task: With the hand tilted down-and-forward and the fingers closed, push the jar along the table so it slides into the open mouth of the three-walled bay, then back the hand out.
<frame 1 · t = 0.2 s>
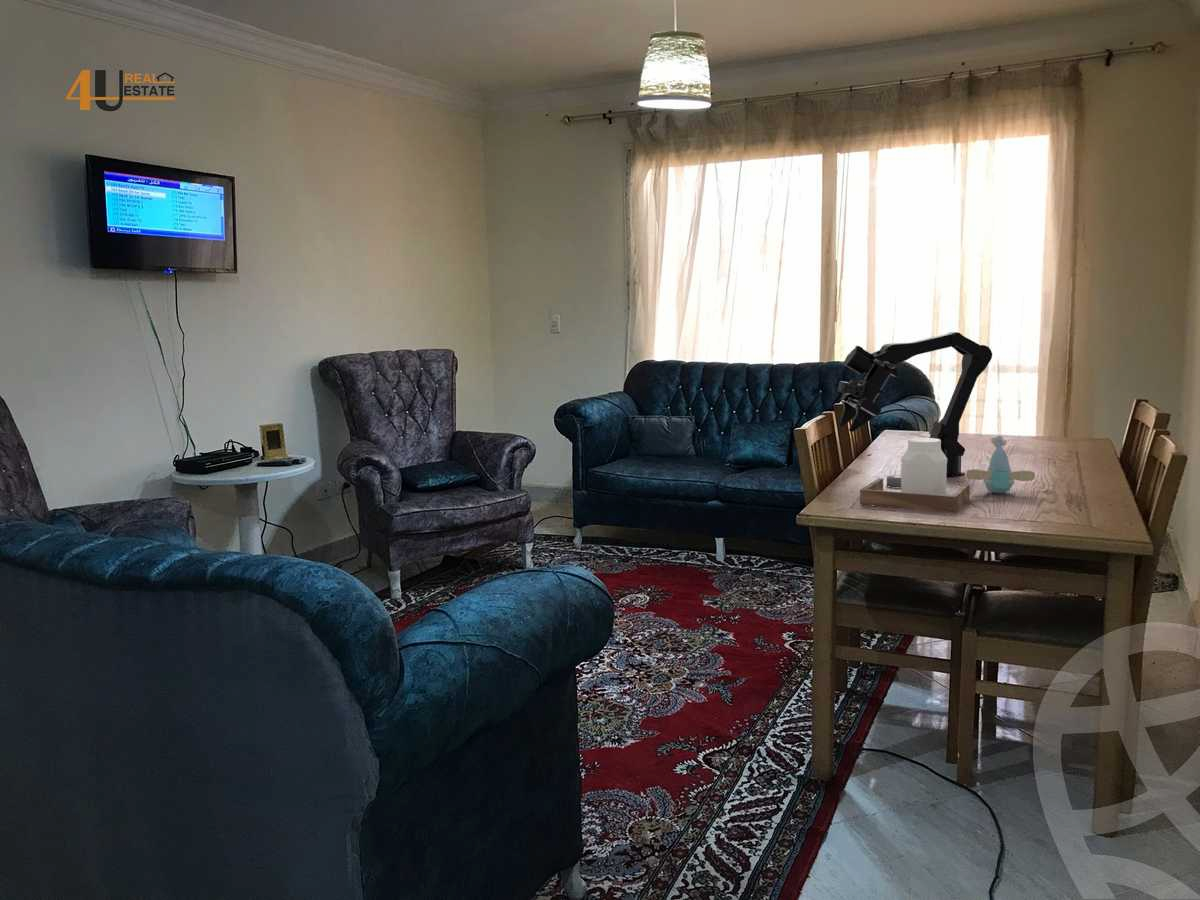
hand: (845, 429, 277), 15 cm above the table, tool tilted 30°, fingers open, 9 cm apart
chassis bay: (915, 501, 244), on the table
wheel: (897, 486, 266), on the table
jar: (923, 496, 252), on the table
blue winged piece: (998, 493, 252), on the table
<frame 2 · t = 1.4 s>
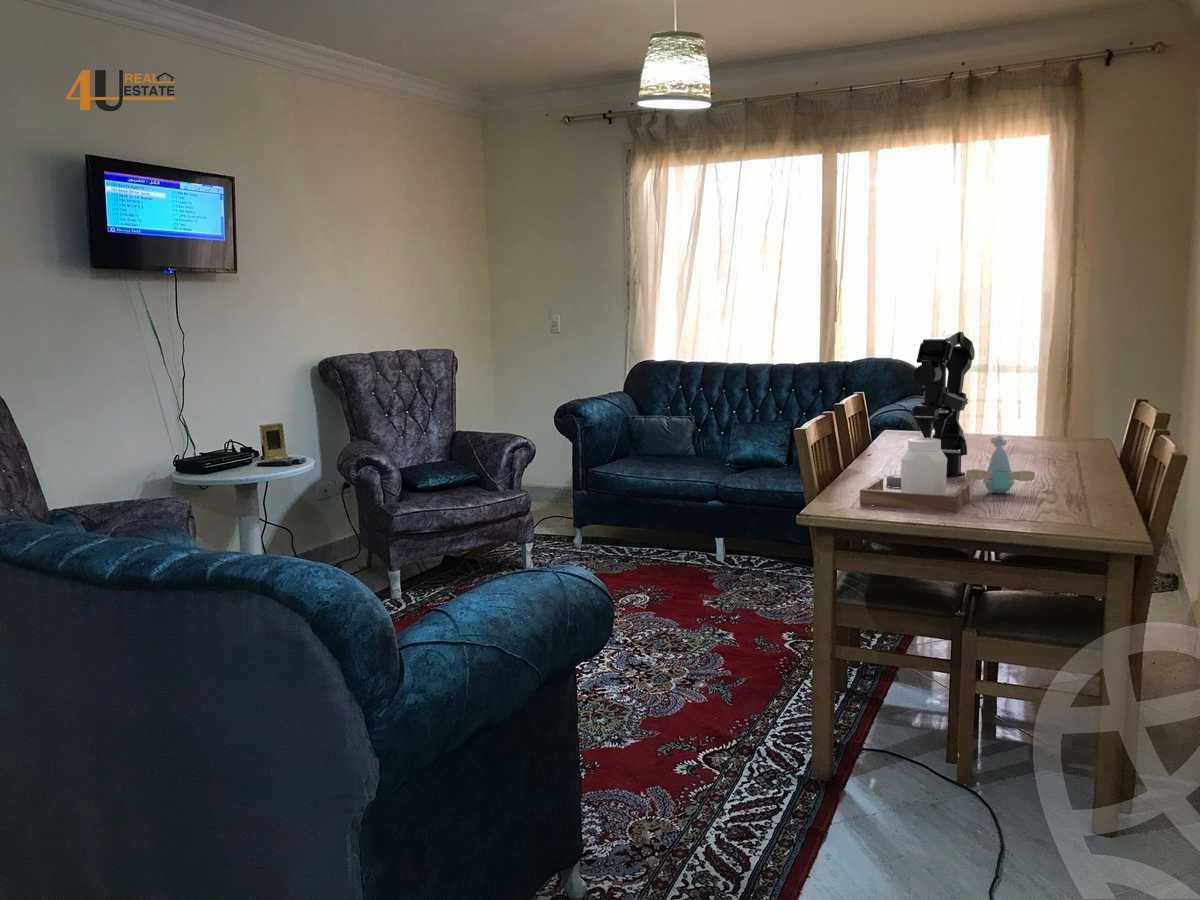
hand: (933, 439, 263), 13 cm above the table, tool pointing down, fingers open, 9 cm apart
nothing on the table moved.
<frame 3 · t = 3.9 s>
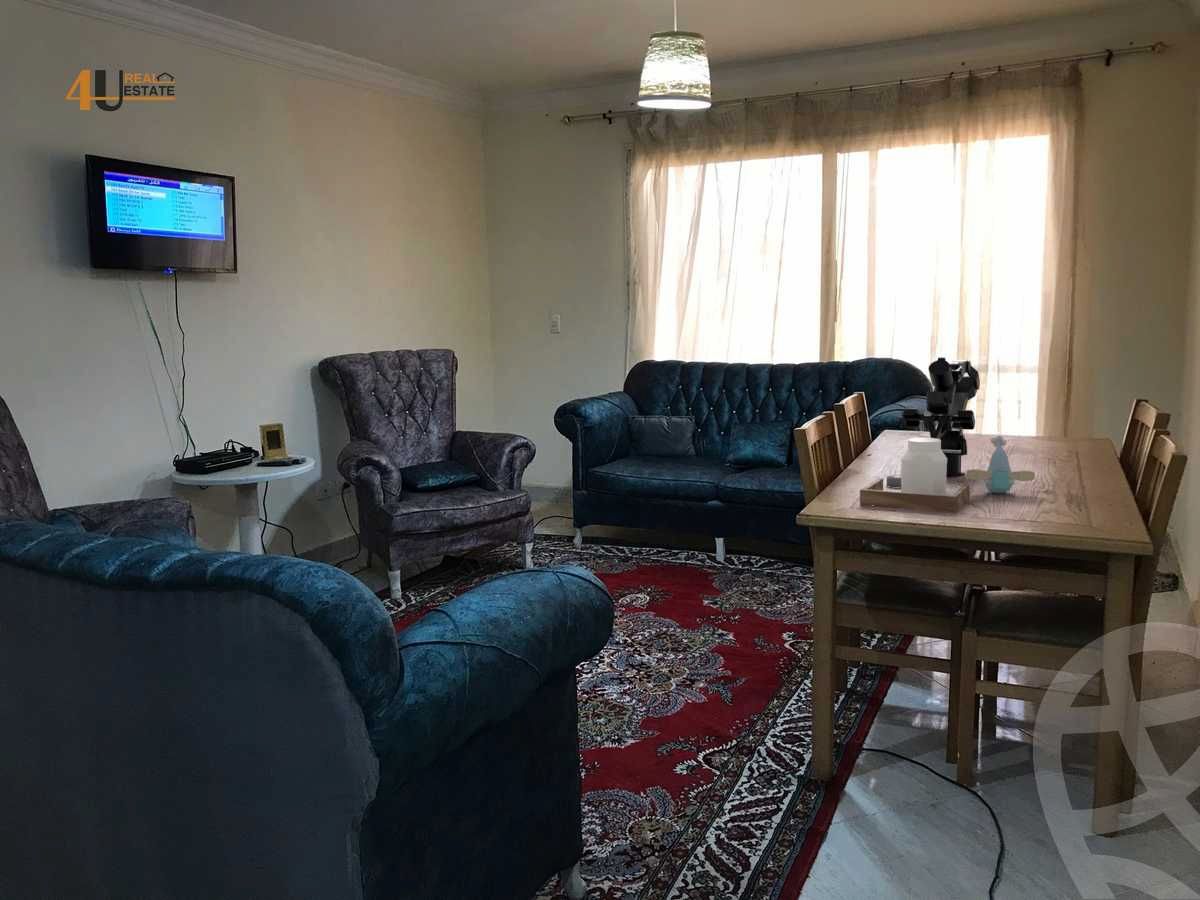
hand: (933, 442, 259), 13 cm above the table, tool tilted 45°, fingers closed
nothing on the table moved.
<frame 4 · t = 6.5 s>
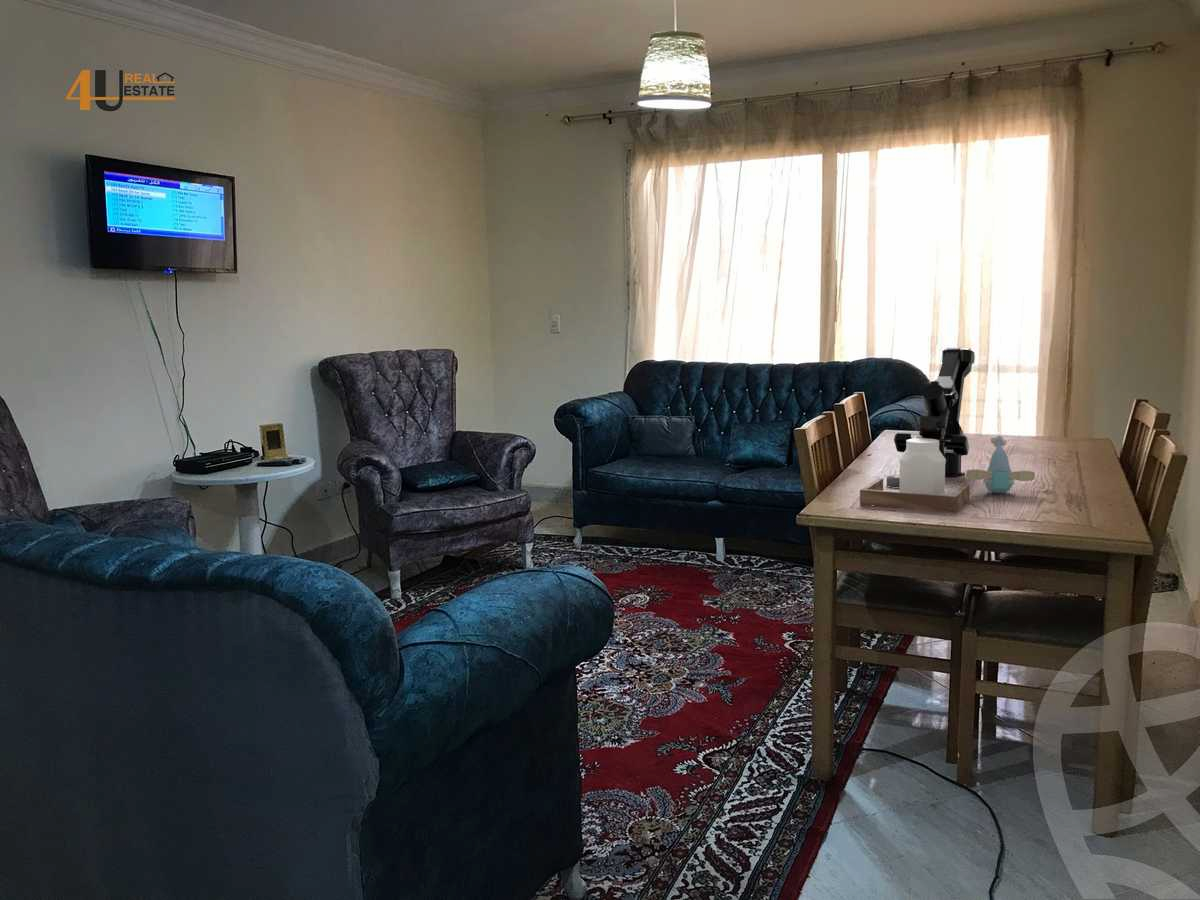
hand: (925, 468, 253), 7 cm above the table, tool tilted 45°, fingers closed, pressing on jar
jar: (921, 497, 251), on the table, touching gripper
everything else where it was.
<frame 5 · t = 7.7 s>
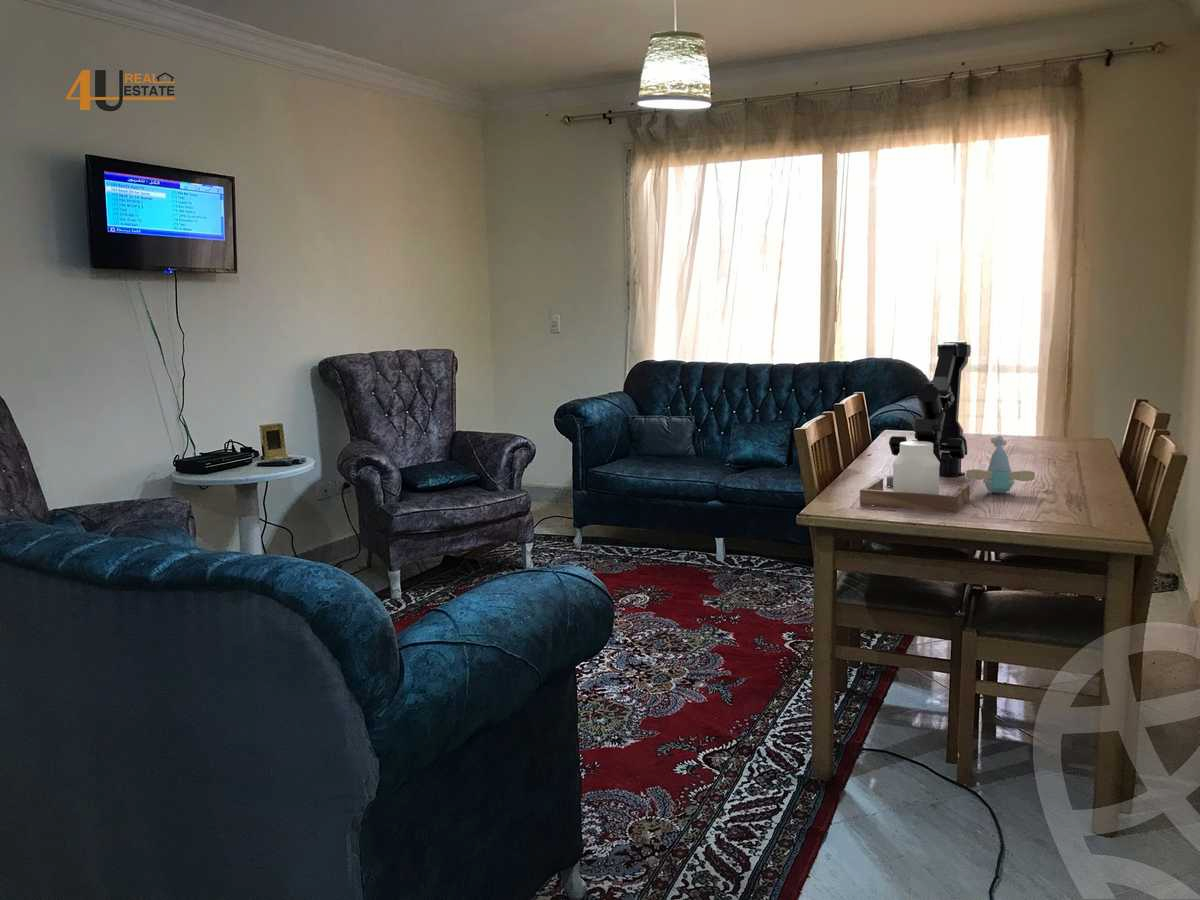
hand: (921, 472, 248), 7 cm above the table, tool tilted 45°, fingers closed, pressing on jar
jar: (915, 501, 246), on the table, touching gripper
everything else where it was.
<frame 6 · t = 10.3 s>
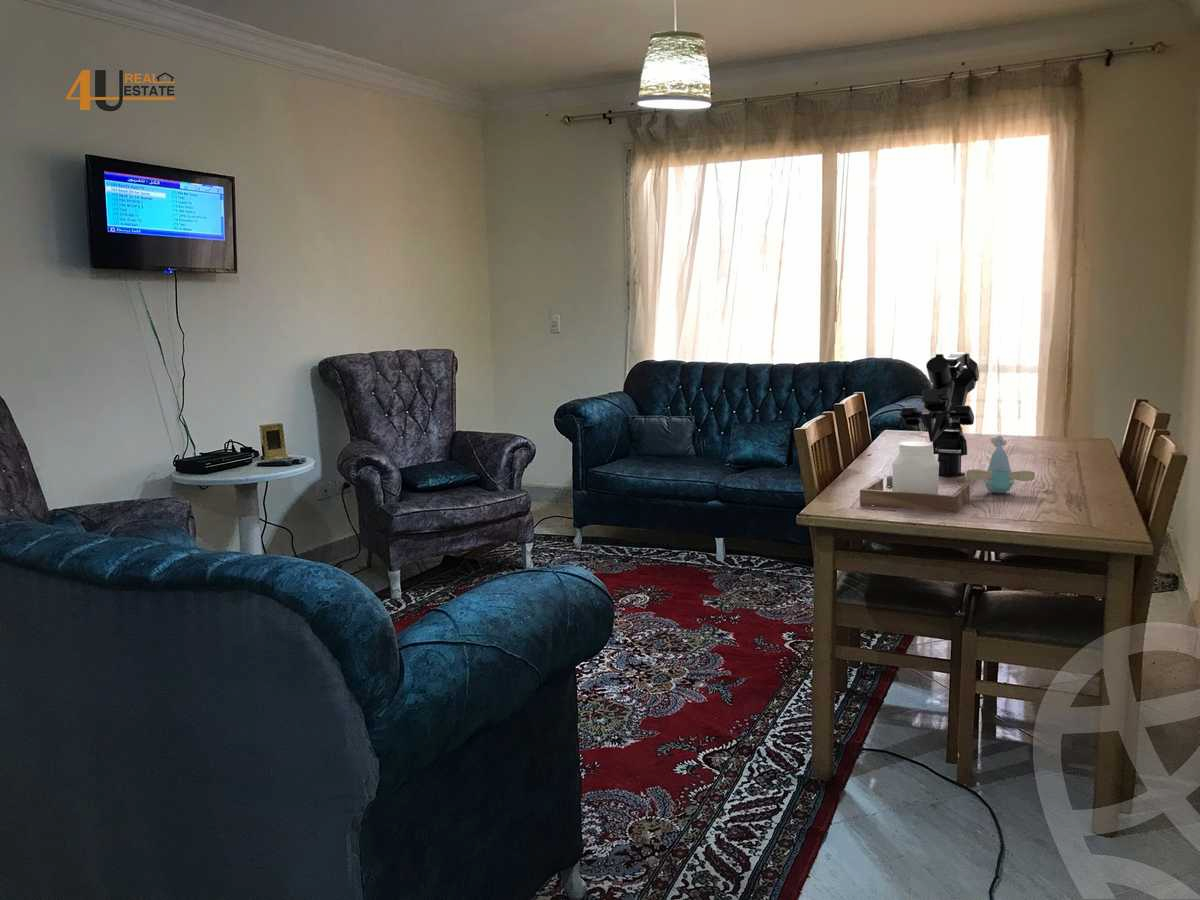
hand: (931, 440, 257), 13 cm above the table, tool tilted 45°, fingers closed
jar: (914, 501, 246), on the table
everything else where it was.
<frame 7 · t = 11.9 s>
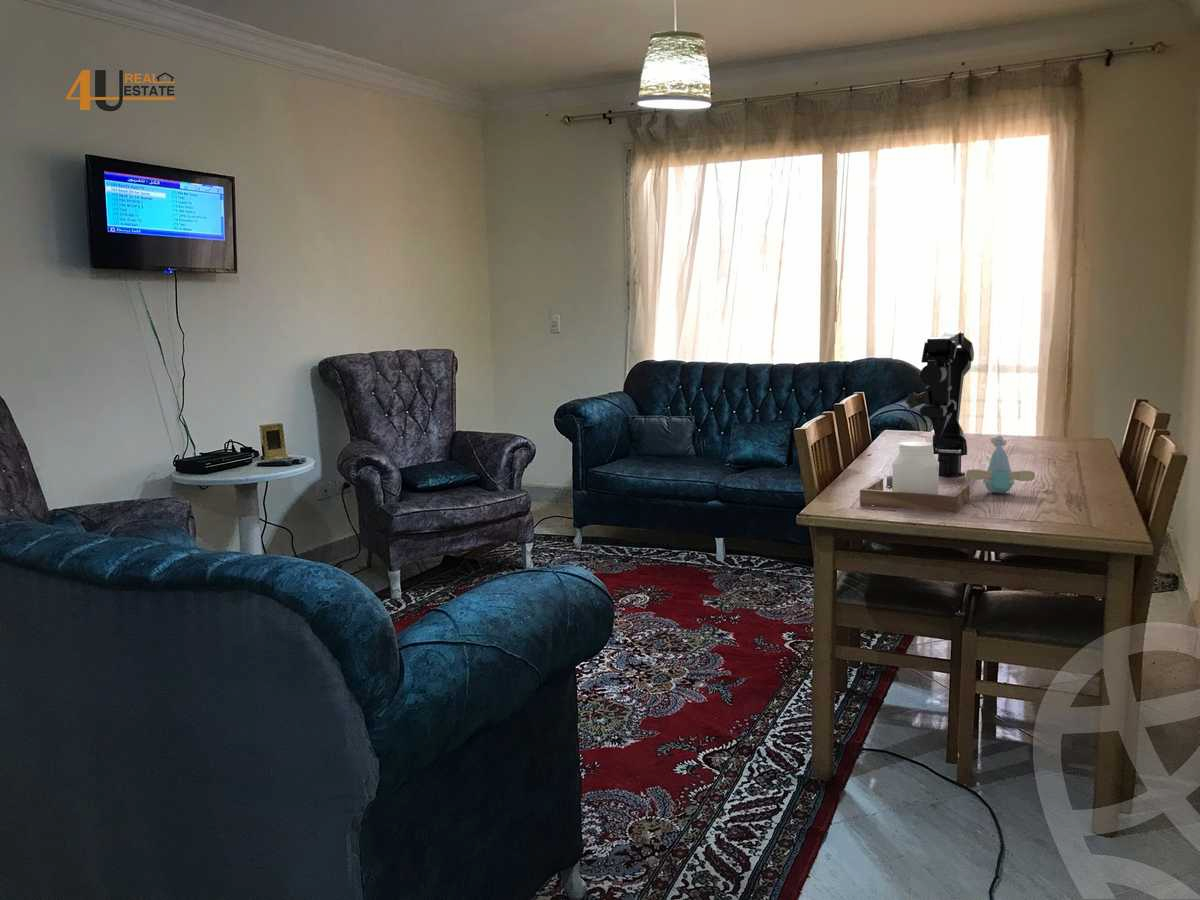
hand: (938, 438, 264), 13 cm above the table, tool pointing down, fingers closed
nothing on the table moved.
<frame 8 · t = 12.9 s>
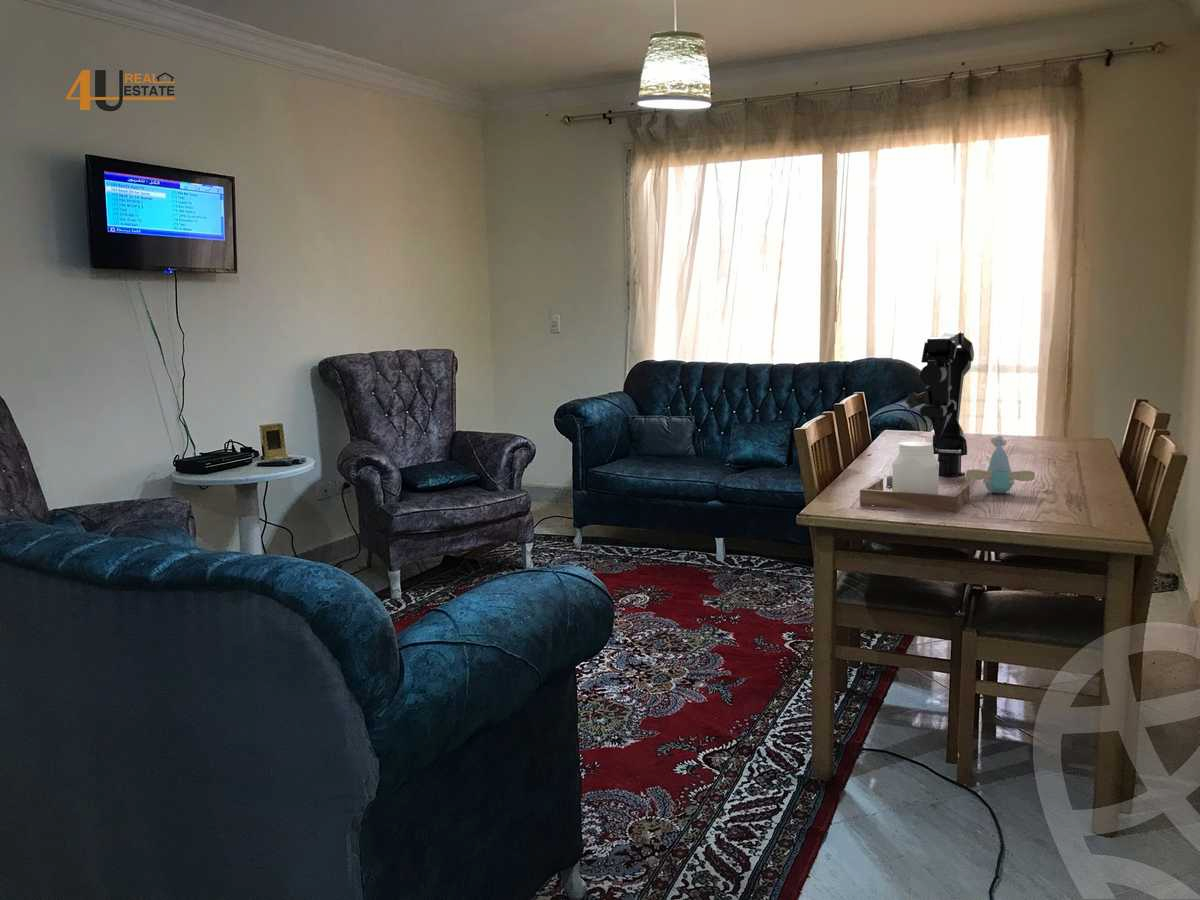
hand: (938, 438, 264), 13 cm above the table, tool pointing down, fingers closed
nothing on the table moved.
at the end: jar 1.6 cm from the chassis bay (horizontally); jar tilted 0°; jar touching table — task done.
